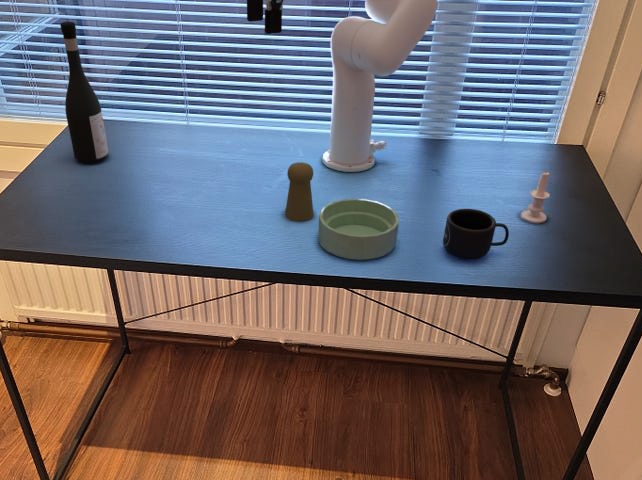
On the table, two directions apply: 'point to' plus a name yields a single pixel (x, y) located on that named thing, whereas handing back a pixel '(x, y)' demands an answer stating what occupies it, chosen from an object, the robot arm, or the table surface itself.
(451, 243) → the mug
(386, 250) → the bowl
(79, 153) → the wine bottle
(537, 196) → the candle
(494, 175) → the table surface
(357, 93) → the robot arm
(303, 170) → the brown rounded tall piece
